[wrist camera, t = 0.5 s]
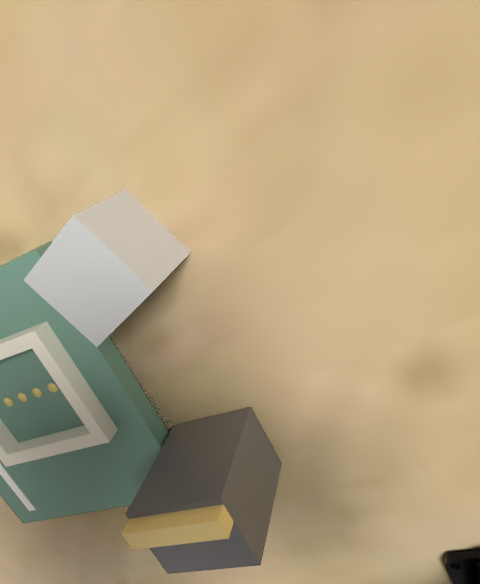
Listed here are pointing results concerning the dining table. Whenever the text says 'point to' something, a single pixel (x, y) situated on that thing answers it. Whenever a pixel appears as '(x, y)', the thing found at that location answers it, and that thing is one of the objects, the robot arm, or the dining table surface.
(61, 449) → the board
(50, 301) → the plug
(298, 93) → the dining table surface
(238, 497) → the plug
